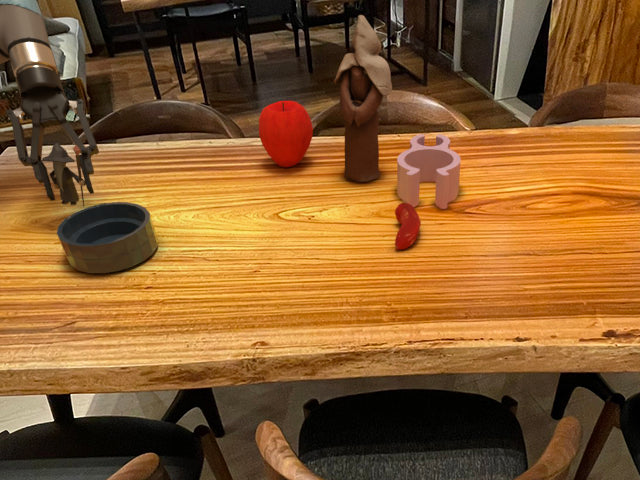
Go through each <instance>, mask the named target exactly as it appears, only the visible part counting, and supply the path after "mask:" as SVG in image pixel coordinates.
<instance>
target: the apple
mask: <svg viewBox="0 0 640 480" xmlns="http://www.w3.org/2000/svg"><path fill="white" fill-rule="evenodd" d="M313 133H314V128H313V122H312V119H311V117H310V114H309V112H308V111H307V110H306V108H305V107H304V106H303V105H302V104H300V103H299V102H297V101H294V100H280V101H276V102H273V103H271V104H268V105H266V106H265V107H264V108H263V109H262V110H261V112H260V115H259V117H258V137H259V139H260V143H261V145H262V147H263V148H264V149H265V151H266V153H267V154H268V156H269V157H270V159H271V160H272V161H273V162H274V163H275V165H277V166H279V167H280V168H291V167H294V166H295V165H298V164H299V163H300V162H301V161H302V160H303V159H304V157H305V155H306V153H307V151H308V149H309V148H310V146H311V143H312V139H313Z"/></svg>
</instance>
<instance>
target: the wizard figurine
mask: <svg viewBox="0 0 640 480" xmlns="http://www.w3.org/2000/svg"><path fill="white" fill-rule="evenodd" d="M72 151H73V152H74V154H75V155H74V156H75V159H74V158H72V157H71V156H70V155H69V154H68V152H67V150H66V149H65V148H64V147H63V146H62V145H61V144H60V143H58V142H54V143H53V145H52V147H51V151H50V152H49V154H48V155H47V156H44V157H42V158H41V161H42V162H45V163H46V162H51V163H52V168H53V169H52V171H51V172H50V173H48V176H49V178H50V180H51V182H52V183H53V188H55V189H56V190H59V195H60V200H61V202H60V203H61V205H64V206H65V205H67V204H70V206H76V205H77V204H78V202H79V201H80V197H79V193H78V191H77V187H76V184H75V182H76V183H77V184H78V185H79V186H80V192H81V193H80V195H81V200H82V205H83V208H86V207H85V197H84V189H83V187H86V184H85V180H84V177H82V170H81V166H80V156H79V155H80V154H81V153H80V151H81V150H80V149H79V148H78V146H77V145H75V144H74V147H73V148H72ZM75 161H76V167H77V173H78V175H77V174H76V173H75V172H74V171H73V170H71V169H70V168H69V167H68V166H67V163H74V162H75ZM74 180H75V182H74Z"/></svg>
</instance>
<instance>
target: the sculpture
mask: <svg viewBox="0 0 640 480" xmlns="http://www.w3.org/2000/svg"><path fill="white" fill-rule="evenodd" d="M356 22H357V23H356V26H355V30H354V34H353V37H352V40H351V46H352V48H353V49H354V52H348V53H346V54H345V55H344V56H343V59H342V60H341V63H340V65H339V67H338V70H337V72H336V75H335V78H334V81H333V84H334V85H335V84H338V85H339V109H340V110H339V111H340V113H341V116H342V118H343V119H344V175H343V177H344V179H345V180H346V181H350V182H355V183H368V182H371V181H376V180H377V179H379V178H380V176H381V171H380V167H379V164H380V163H379V161H380V150H379V147H380V145H379V144H380V143H379V127H380V126H379V125H380V123H379V112H378V109H379V107H380V106H381V105H382V102H383V98H384V97H385V96H389V95H390V94H391V93H392V91H393V84H392V78H391V75H392V74H391V68H390V65H389V64H388V62H387V60H386V59H385V58H383V56H380V52H381V50H382V43H381V41H380V40H379V37H378V35H377V33H376V31H375V30H374V28H373V27H372V26H371V24H370V23H369V21H368V20H367V18H366V17H365V15H363V14H359V15H357V21H356Z"/></svg>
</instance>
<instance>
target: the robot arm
mask: <svg viewBox="0 0 640 480" xmlns="http://www.w3.org/2000/svg"><path fill="white" fill-rule="evenodd" d="M46 28H47V27H46V22H45V18H44V16H43V14H42V11H41V9H40V6H39V3H38V1H37V0H0V65H2V64H4V63H6V62H8V61H9V62H10V66H11V68H12V71H13V72H12V73H13V75H14V77H15V83H16V85H17V89H18V92H19V96H20V100H21V102H20V105H19V106H20V107H18V108H16V109H14V110H12V109H11V108H9V109H6V111H5V114H6V115H7V117H8V119H9V120H10V122H11V126H12V132H13V137H14V143H15V147H16V153H17V159H18V160H19V161H20V163H21V164H22V165H23V166H24V167H31V168H32V171H33V173H34V177H35V179H36V181H37V182H38V183H39V184H43V186H44V190H45V193H46V196H47V198H48V199H49V200H50V202H54V201H56V197H55V194H54V190H53V186H52V183H51V178H50V175H49V172H48V169H47V167H46V165H45V163H44V161H41V160H42V159H43V145H44V143H43V142H44V134H45V129H46V128H49V127H52V126H58V127H59V126H61V127H62V129H63V131H65V133H66V134H67V135H68V137H69V139H70V141H71V142H72V143H73V145H74V146H75V145H77V146H78V148H79V149H80V150H81V151H80V153H79V156H80V166H81V174H82V176H83V177H82V178H83V180H84V181H85V184H86V185H85V187H86V190H87V191H88V193H89V195H92V194H95V191H94V188H93V184H92V181H91V178H90V175H94V174H95V169H94V166H93V162H92V156H95V155H99V153H100V150H99V147H98V145H97V141H96V140H95V137H94V134H93V131H92V129H91V125H90V122H89V120H88V118H87V106H86V104H85V101H84V100H83V99H82V98H77V99H76V100H69V98H68V97H67V96H66V93H65V90H64V87H63V83H62V80H61V77H60V74H59V69H58V65H57V62H56V59H55V55H54V52H53V50H52V47H51V43H50V39H49V35H48V32H47V29H46ZM71 109H72V111H73V112H74V114H76V115H77V116H78V119H79V122H80V125H81V128H82V130H83V132H84V135H85V138H86V141H87V143H88V146H86V145H85V144H84V143H83V141H82V140H81V139H80V137H79V135H78V134H77V133H76V132H75V130H74V129H73V127H72V126H71V124H70V123H69V120H68V119H67V116H68V114H69V112H70V110H71ZM24 116H26V118H28V119H30V120H31V127H32V128H31V140H30V152H29V153H30V155H29V153H28V148H27V147H28V146H27V142H26V137H25V136H26V135H25V132H24V127H23V124H22V123H23V122H24Z"/></svg>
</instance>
